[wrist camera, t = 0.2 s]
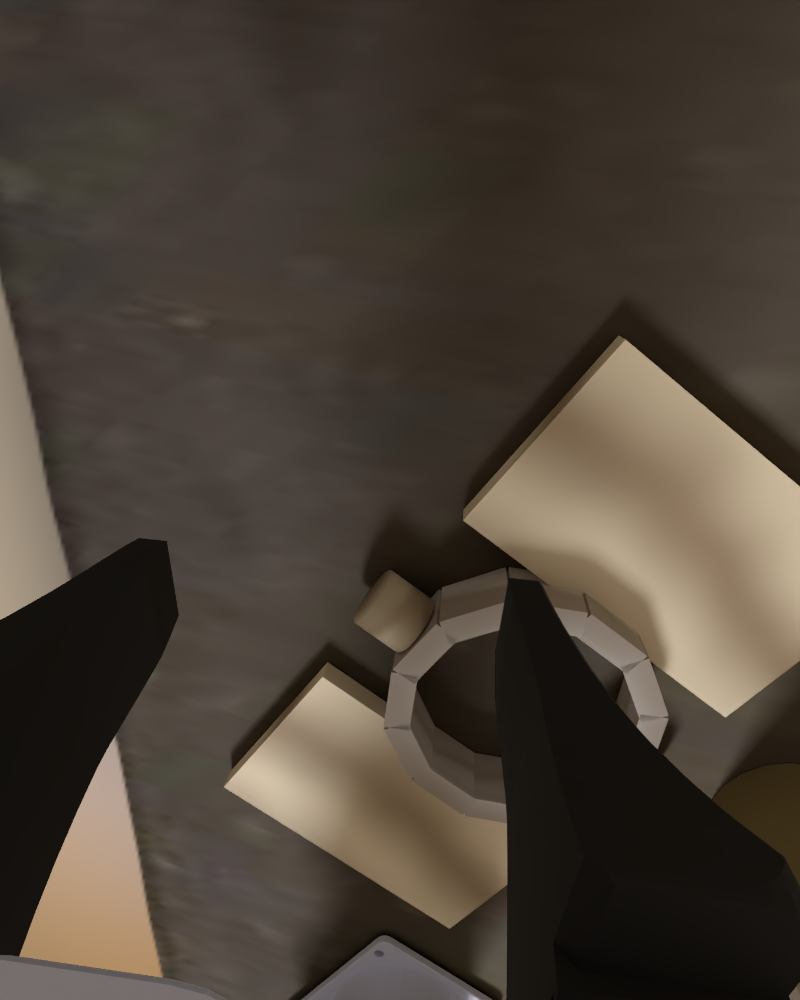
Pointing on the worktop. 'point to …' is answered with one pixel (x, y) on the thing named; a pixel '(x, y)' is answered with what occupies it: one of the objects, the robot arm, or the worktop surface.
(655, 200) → the worktop surface
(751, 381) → the worktop surface
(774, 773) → the cork
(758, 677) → the hinge base
